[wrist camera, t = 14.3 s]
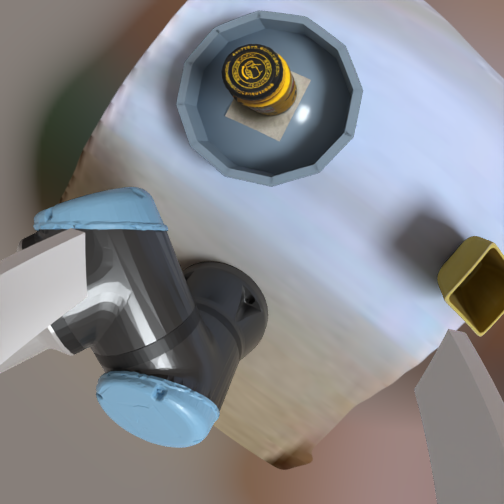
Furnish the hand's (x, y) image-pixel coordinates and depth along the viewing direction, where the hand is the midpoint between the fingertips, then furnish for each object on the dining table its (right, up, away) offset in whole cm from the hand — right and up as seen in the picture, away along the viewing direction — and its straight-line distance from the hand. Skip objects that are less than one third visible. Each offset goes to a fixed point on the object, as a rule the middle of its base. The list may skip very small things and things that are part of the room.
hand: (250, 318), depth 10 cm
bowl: (+3, +21, +25) cm, 33 cm away
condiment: (+2, +20, +25) cm, 32 cm away
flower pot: (+29, 0, +27) cm, 39 cm away
